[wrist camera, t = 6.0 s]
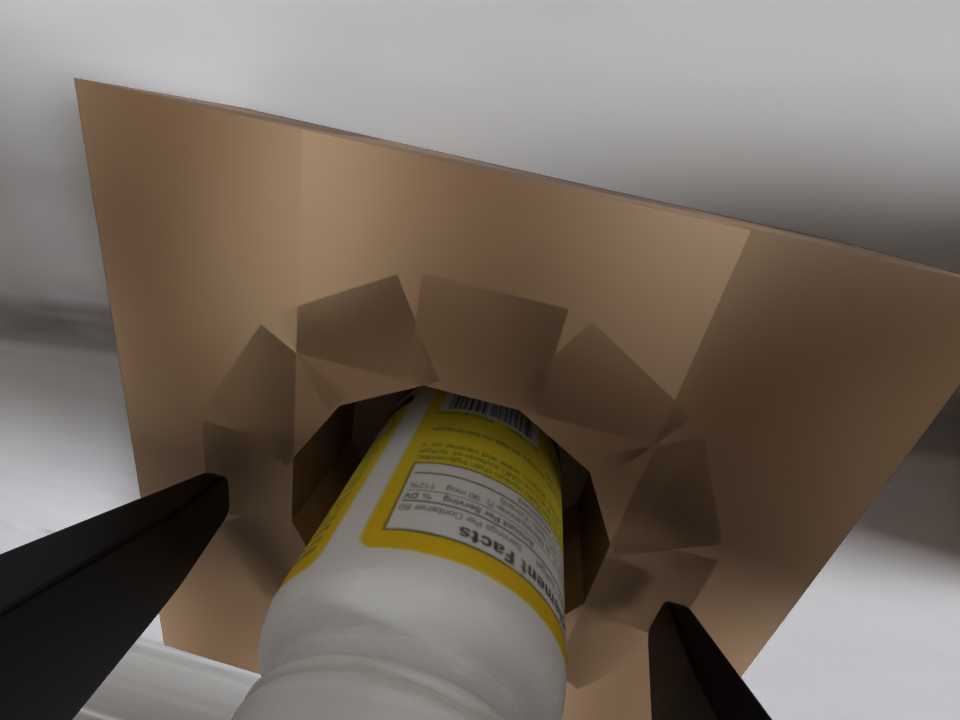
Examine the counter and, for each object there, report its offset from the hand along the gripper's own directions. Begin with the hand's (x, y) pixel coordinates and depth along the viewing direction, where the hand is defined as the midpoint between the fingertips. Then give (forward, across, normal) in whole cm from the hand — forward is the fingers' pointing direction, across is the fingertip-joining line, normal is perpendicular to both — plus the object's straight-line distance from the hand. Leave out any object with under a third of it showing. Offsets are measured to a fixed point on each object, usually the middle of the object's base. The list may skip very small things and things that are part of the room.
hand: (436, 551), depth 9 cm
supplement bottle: (+4, 0, 0) cm, 4 cm away
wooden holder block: (+4, 0, 0) cm, 4 cm away
